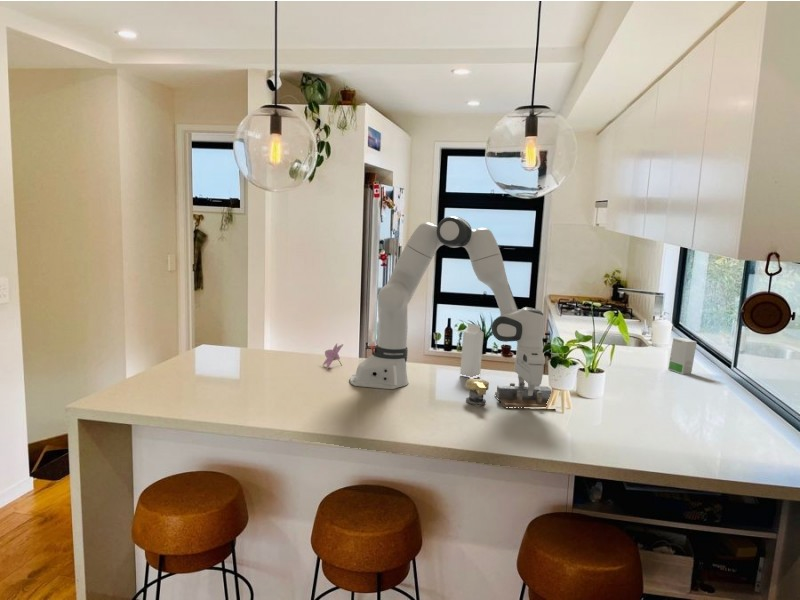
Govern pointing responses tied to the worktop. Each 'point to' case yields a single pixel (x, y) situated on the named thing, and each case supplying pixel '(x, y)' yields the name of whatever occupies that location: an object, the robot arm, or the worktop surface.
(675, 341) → the skincare box
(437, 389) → the worktop surface
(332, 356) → the lily
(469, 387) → the gold crumpled flat piece
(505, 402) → the peg rack
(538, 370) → the robot arm
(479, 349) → the milk
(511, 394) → the grey rectangular bar
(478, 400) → the post
